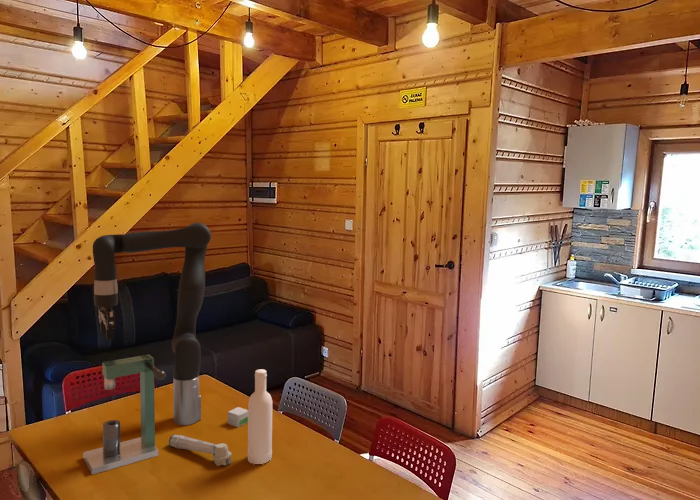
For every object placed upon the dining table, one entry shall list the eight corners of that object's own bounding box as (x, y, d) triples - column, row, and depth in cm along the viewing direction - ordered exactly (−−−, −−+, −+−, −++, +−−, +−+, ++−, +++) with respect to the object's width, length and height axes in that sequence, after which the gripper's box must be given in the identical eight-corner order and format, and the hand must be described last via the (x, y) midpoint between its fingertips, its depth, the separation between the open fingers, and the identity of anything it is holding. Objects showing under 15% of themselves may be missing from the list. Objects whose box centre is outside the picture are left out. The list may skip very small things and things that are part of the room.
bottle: (276, 455, 171) (277, 368, 167) (264, 467, 163) (266, 376, 160) (255, 451, 173) (255, 365, 170) (242, 462, 166) (243, 373, 163)
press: (147, 440, 178) (145, 351, 174) (167, 467, 162) (166, 369, 158) (83, 458, 165) (80, 362, 162) (99, 488, 149) (96, 382, 146)
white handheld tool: (178, 431, 178) (233, 440, 166) (180, 450, 178) (235, 460, 166) (166, 437, 173) (222, 447, 161) (168, 456, 173) (224, 467, 162)
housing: (117, 448, 169) (117, 417, 168) (122, 453, 165) (122, 422, 164) (100, 452, 165) (101, 421, 164) (105, 458, 162) (105, 426, 161)
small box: (238, 427, 190) (238, 415, 189) (227, 423, 193) (227, 411, 192) (248, 422, 195) (249, 410, 194) (237, 418, 198) (237, 406, 197)
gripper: (122, 294, 178) (123, 339, 180) (112, 287, 189) (113, 330, 191) (99, 296, 173) (100, 343, 175) (89, 289, 184) (91, 333, 186)
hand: (107, 336), depth 183 cm, fingers open, 8 cm apart
